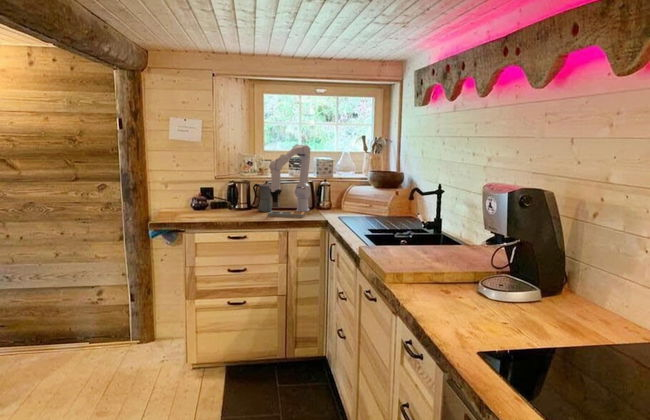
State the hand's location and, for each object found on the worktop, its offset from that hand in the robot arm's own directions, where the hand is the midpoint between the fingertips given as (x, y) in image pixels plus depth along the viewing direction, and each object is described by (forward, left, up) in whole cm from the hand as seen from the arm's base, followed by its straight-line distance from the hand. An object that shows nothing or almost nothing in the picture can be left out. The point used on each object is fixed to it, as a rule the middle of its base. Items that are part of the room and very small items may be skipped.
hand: (275, 201), depth 302 cm
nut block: (0, 0, -3) cm, 3 cm away
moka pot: (-14, -11, -9) cm, 20 cm away
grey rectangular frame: (0, +7, -9) cm, 11 cm away
